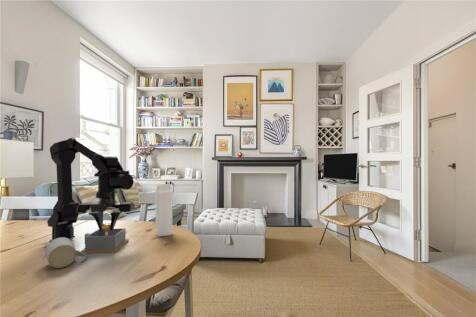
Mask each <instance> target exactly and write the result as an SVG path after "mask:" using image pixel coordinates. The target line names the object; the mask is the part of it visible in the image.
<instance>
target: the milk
mask: <svg viewBox="0 0 476 317" xmlns="http://www.w3.org/2000/svg"><path fill="white" fill-rule="evenodd" d="M156 187H157V188H156V190H155V234H156V236H157V237H159V238H160V237H165V236H166V237H167V236H172V235H173V190H172V184H171V183H168V184H167V183H163V184H157V185H156Z"/></svg>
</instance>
